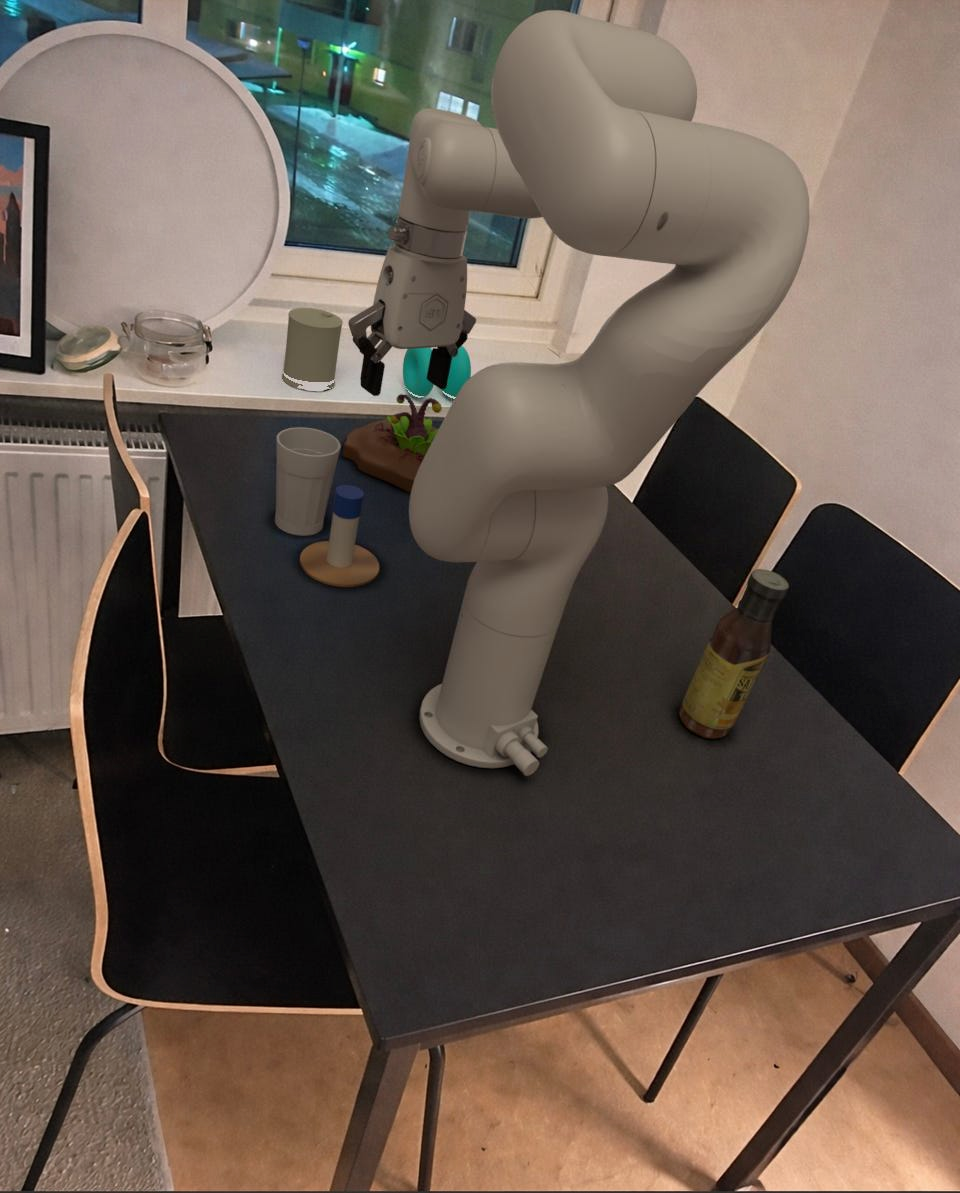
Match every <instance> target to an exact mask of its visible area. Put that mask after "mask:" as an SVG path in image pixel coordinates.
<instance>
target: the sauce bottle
mask: <svg viewBox="0 0 960 1193" xmlns="http://www.w3.org/2000/svg"><path fill="white" fill-rule="evenodd" d="M789 588H790V585H789V583H788V581H787V580H786V578H784V577H782V575H780V574H779V573H776V572H774V571H772V570H769V569H763V568H756V569H753V570H752V571H751V573H750V575H749V577H748V579H747V583H746V588H745V590H744V592H743V594H742V596H741V598H740V600H739V601H738V603H737V607H735V608H734V609H732V610H730V611H729V612H727V613H726V614H725V615H724V616H722V617H721V618H720V619H719V621H718V622H717V624H716V626H715V629H714V631H713V634H712V636H711V638H709V640H708V641H707V644H706V647H705V649H704V651H703V653H702V655H701V658H700V660H699V662H698V664H697V666H696V669H695V671H694V674H693V676H692V678H691V680H690V683H689V684H688V687H687V689H686V691H685V694H684V695H683V698H682V703H681V705H680V707H679V711H678V713H679V718H680V721H681V723H682V724H683V726H685V728H686V729H687V730H689V731H691V732H692V733H694V734H696V736H699V737H702V738H705V739H711V740H712V739H714V740H715V739H716V740H717V739H721V738H723V737H726V736H727V734H728V733H729V732H730V731H731V729H732V727H733V726H734V725H735V723H736V722H737V719H738V717H739V716H740V713H741V711H742V709H743V707H744V705H745V703H746V701H747V699H748V697H749V695H750V693H751V691H752V689H753V687H754V685H755V683H756V681H757V678H758V677H759V674H760V672H761V671H762V669H763V667H764V664H765V663H766V660H767V658H768V656H769V654H770V652H771V643H772V627H773V619H774V618H775V615H776V613H777V609H778V607H779V605H780V603H781V601H782V600H783V599H785V597H786V595H787V592H788V590H789Z"/></svg>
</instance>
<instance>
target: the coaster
mask: <svg viewBox="0 0 960 1193" xmlns="http://www.w3.org/2000/svg"><path fill="white" fill-rule="evenodd" d="M328 546H329V540H323V541H318V542H314V543H311V544H310V545H308V546H306V547H305V548H303V549H302V551H301V553H300V555H299V564H300V565H299V566H300V567H301V569H302V570H303V572H304V573H305V574H307V576H309V577H310V578H312V579H314V580H315V581H317V582H319V583H321V584H325V585H328V586H331V587H332V586H333V587H338V588H357V587H360V586H365V585H367V584H369V583H371V582H373V581H374V580H376V578H377V577H378V575H379V572H380V563H379V561H378V559H377V557H376V556H375V554H373V553H372V552H370V550H368V549H366V548H364V547H362V546H360V545H358V544H355V547H354V553H353V559H352V564H351V565H350V566H349V567H346V568H338V567H334V566H332V565H330V564H329V563H328V562H327V553H328Z"/></svg>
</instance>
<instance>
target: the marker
mask: <svg viewBox="0 0 960 1193" xmlns="http://www.w3.org/2000/svg"><path fill="white" fill-rule="evenodd" d="M364 496H365V494H364V491H363V490H362V489H361V488H359V487H357V486H355V485H352V484H351V485H350V484H342V485H339V486H337V487H336V488H335V492H334V498H333V505H332V519H331V526H330V532H329V540H328V541H329V546H328V553H327V562H328V563H329V564H330V565H332V566H334V567H338V568H346V567H349V566H350V565H351V564H352V559H353V553H354V547H355V545H356V542H357V541H356V539H357V534H358V529H359V528H358V527H359V521H360V516H361V514H362V507H363V502H364Z"/></svg>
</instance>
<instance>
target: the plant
mask: <svg viewBox="0 0 960 1193" xmlns="http://www.w3.org/2000/svg"><path fill="white" fill-rule="evenodd" d="M405 400H406V401H407V403H408V404H409V408H410V412H407V411H402V412H397V413H395V414H392V415H391V416H390V415H387V416H386V419H382V420H376V421H372V422H369V423H368V424H365V425H363V426H361V427H358V428H354V429H352V430H350V432H349V433H348V434H346V436H345V438H344V444H343V448H342V457H343V458H345V459H348V460H350V461H352V462H353V463H354V464H355V465H356V466H357V469H358V471H360V472H361V473H364V474H367V475H369V476H371V477H373V478H376V479H378V480H380V481H383V482H386V483H388V484H390V485H391V486H395V487H397V488H399V489H401V490H403V491H405V492H408V493H411V490H412V487H413V483H414V480H415V477H416V474H417V472H418V469H419V467H420V465H421V463H422V461H423V459H424V457H425V455H426V453H427V451H428V449H429V447H430V445H431V443H432V442H433V440H434V438H435V436H436V434H437V432H438V430H439V428H436V427H434V426H433V420H432V418H425V416H426V411H427V407H429V404H431V409H432V411H433V412H434V413H436V414H437V413H438V414H440V412H441V411H442V410H443V409H442V404H441V403H440V402H439V401H438V400H436V399H435V398H433V397H430V398H426V399H425V400H424V402H422V404H421V405H420V407H419V409H418V411H417V407H416V404H415V403H414V401H413V399H412V398H411V397H410V396H409V394H404V393H403V394H402V393H400V394H398V395H397V396H396V402H397V403H398V404H404V402H405Z"/></svg>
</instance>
